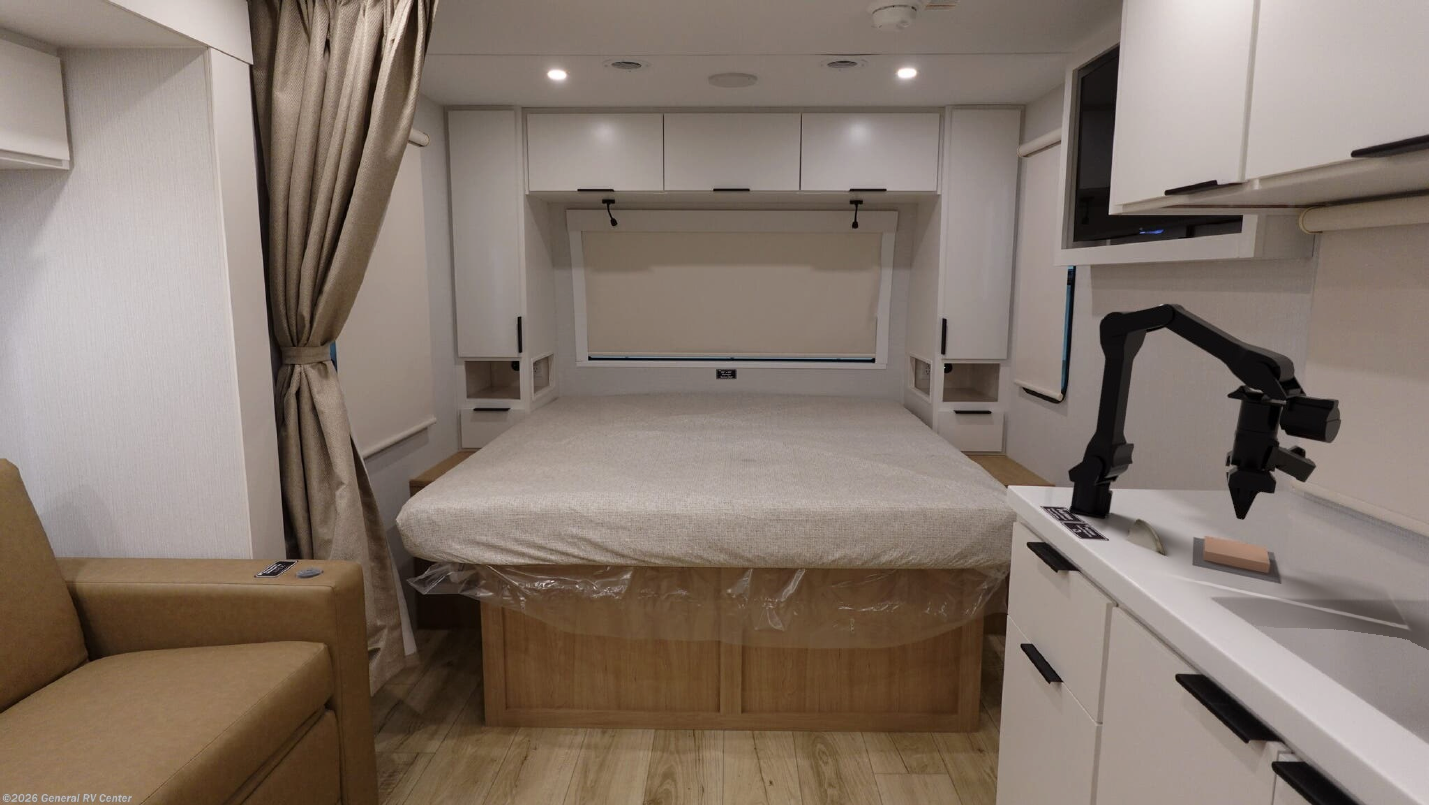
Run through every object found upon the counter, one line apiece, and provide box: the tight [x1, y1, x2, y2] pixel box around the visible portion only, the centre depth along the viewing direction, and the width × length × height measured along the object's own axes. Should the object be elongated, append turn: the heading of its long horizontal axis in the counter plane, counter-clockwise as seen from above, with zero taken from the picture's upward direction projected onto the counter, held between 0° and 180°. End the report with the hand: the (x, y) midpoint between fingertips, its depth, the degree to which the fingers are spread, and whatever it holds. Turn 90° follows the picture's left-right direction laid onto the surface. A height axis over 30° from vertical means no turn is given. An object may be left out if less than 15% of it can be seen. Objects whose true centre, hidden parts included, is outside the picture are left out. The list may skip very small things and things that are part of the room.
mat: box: [1192, 536, 1282, 585], centre depth 133 cm, size 12×16×1 cm
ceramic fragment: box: [1125, 518, 1166, 556], centre depth 140 cm, size 14×5×4 cm, turn 169°
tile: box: [1203, 535, 1270, 573], centre depth 133 cm, size 9×2×9 cm
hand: (1240, 518), depth 133 cm, fingers closed
